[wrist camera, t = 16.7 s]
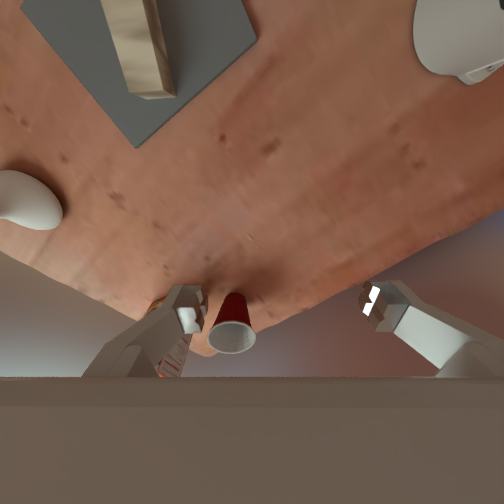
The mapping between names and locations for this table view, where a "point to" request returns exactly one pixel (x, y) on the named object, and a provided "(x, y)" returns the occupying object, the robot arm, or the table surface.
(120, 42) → the birch block
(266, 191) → the table surface
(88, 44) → the slate mat
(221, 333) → the plastic cup
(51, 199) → the flower in vase
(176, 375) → the cracker box
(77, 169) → the table surface
